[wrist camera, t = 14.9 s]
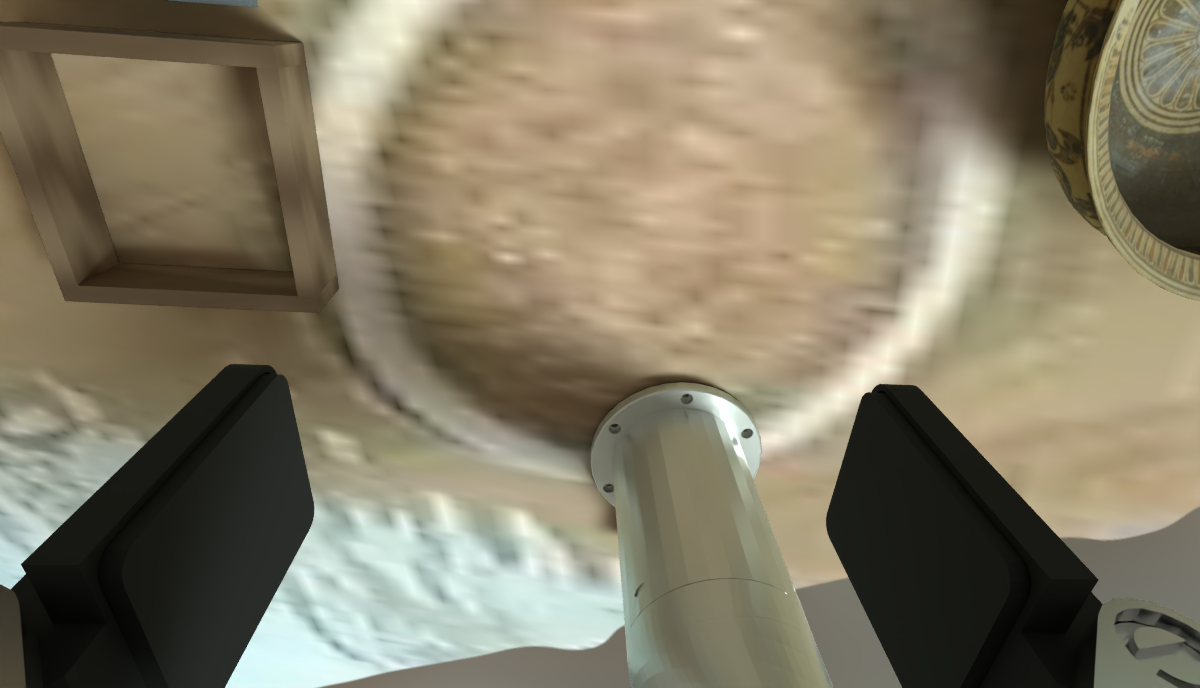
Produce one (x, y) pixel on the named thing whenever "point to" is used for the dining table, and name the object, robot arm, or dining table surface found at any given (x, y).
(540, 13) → the dining table surface
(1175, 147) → the ceramic bowl
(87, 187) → the wooden square frame
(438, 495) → the dining table surface
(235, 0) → the pad
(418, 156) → the dining table surface
